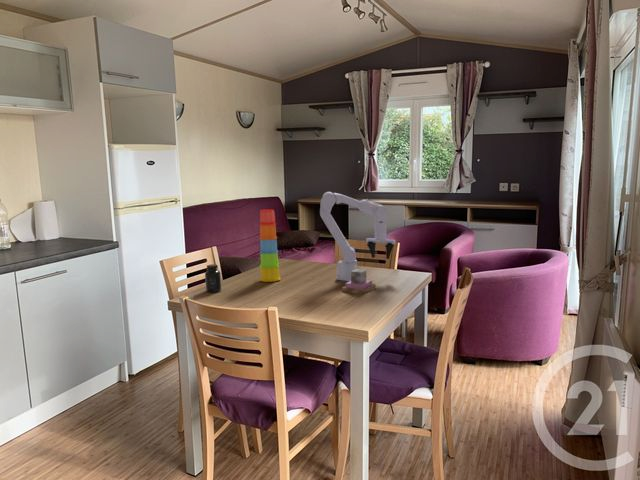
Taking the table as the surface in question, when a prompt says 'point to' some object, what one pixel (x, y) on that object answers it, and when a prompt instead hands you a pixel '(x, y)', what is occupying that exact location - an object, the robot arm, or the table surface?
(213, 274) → the supplement bottle
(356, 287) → the plum top block
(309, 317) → the table surface
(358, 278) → the slate cube
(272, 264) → the stacking cups
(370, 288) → the walnut base block
